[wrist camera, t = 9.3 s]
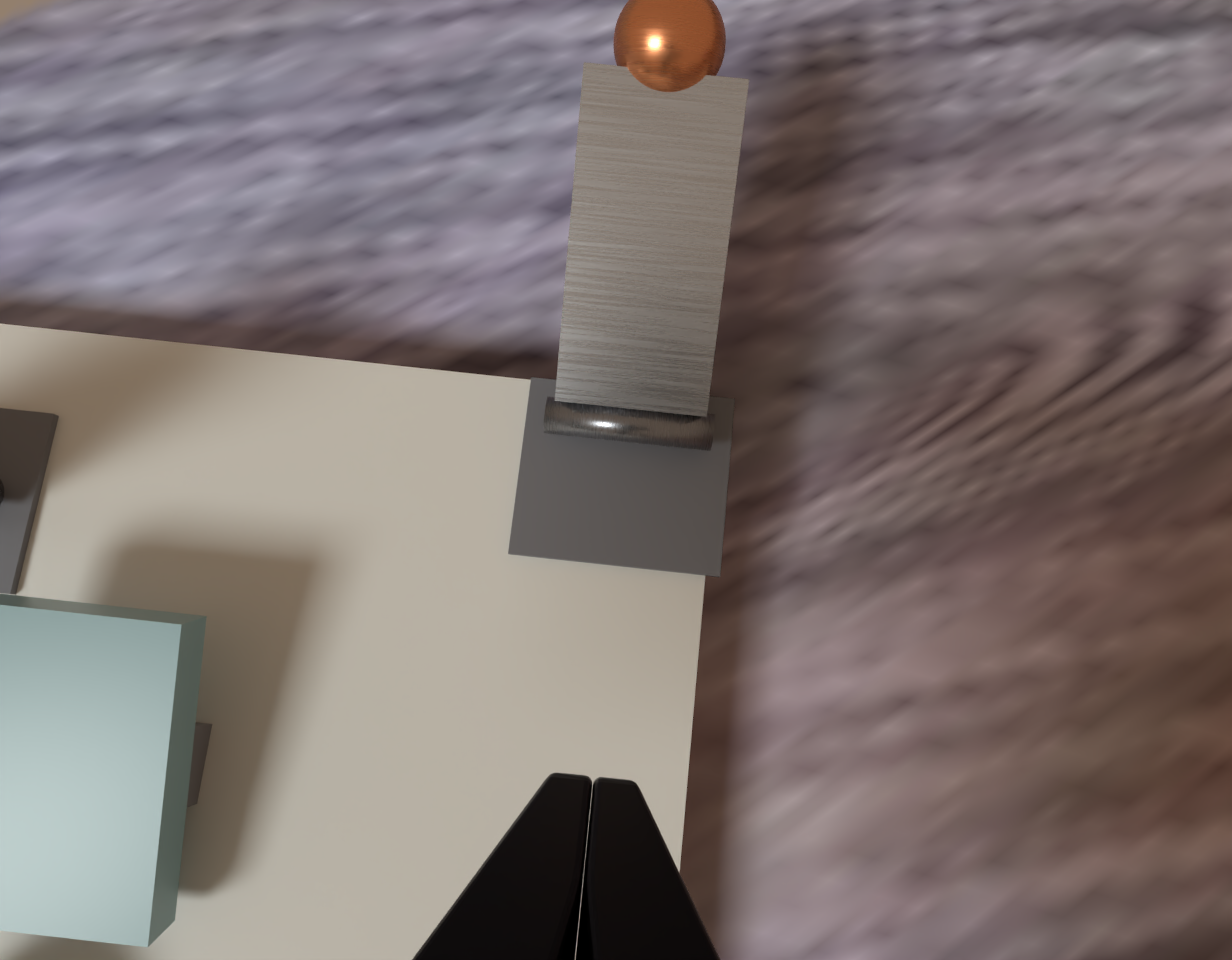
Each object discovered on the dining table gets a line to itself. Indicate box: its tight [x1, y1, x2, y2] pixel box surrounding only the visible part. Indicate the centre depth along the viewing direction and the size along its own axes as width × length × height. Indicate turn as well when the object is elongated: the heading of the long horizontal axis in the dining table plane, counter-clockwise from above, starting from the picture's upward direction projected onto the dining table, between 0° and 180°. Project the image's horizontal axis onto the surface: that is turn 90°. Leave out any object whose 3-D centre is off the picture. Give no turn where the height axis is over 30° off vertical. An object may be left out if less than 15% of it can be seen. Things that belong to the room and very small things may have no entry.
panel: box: [0, 324, 735, 960], centre depth 19 cm, size 16×20×3 cm
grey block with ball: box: [544, 0, 749, 451], centre depth 19 cm, size 2×4×9 cm
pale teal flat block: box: [0, 594, 207, 947], centre depth 17 cm, size 6×4×1 cm
